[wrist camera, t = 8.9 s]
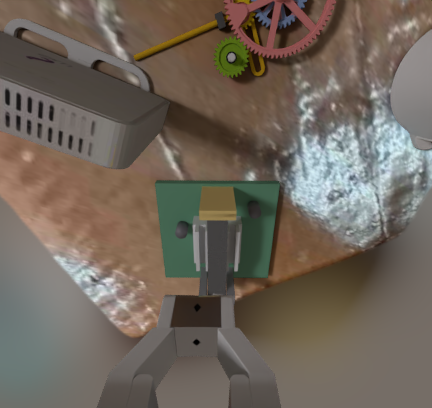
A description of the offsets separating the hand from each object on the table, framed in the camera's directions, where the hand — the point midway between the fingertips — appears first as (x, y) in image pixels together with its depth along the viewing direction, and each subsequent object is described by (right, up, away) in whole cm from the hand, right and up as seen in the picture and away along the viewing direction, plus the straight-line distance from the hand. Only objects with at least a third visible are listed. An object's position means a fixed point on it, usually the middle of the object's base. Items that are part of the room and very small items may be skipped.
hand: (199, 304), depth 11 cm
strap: (+1, -4, +30) cm, 30 cm away
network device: (-18, +22, +24) cm, 37 cm away
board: (+1, -1, +35) cm, 35 cm away
